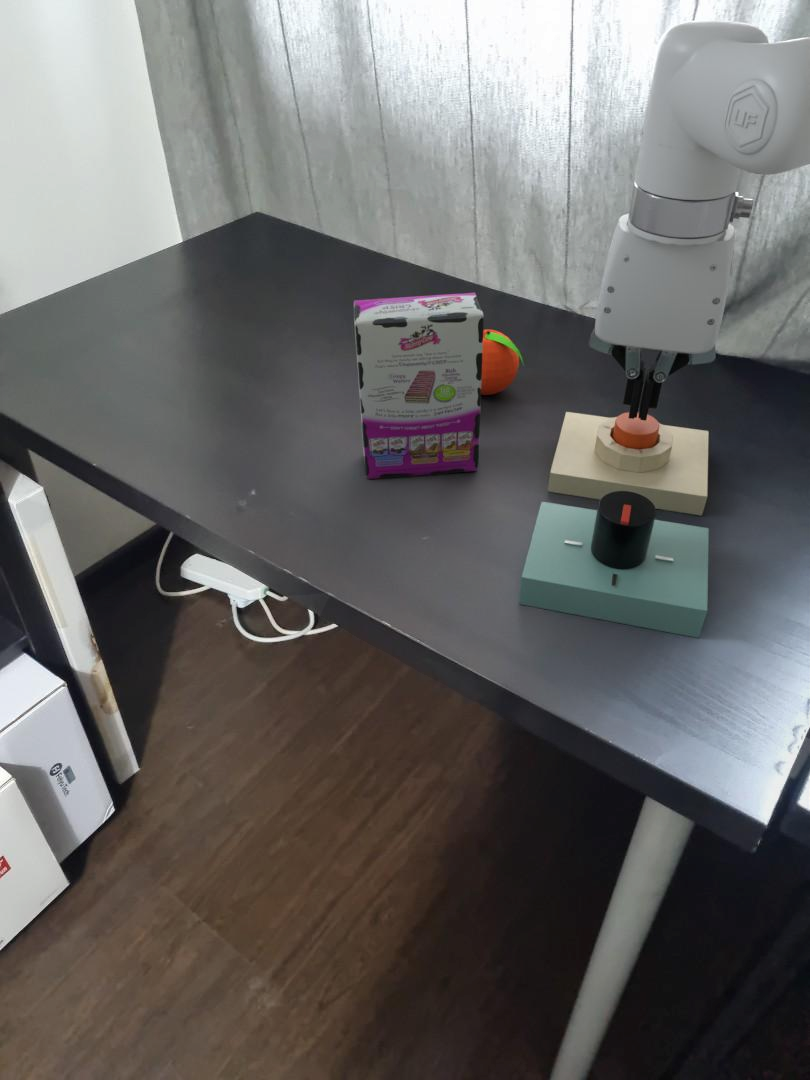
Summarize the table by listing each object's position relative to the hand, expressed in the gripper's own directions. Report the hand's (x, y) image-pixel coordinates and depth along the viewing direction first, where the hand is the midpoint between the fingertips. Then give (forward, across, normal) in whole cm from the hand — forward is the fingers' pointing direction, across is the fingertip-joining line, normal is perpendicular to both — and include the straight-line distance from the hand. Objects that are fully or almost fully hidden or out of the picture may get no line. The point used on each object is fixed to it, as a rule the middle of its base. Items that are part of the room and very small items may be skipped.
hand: (638, 411), depth 76 cm
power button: (+3, 0, 0) cm, 3 cm away
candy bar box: (+7, +20, +4) cm, 21 cm away
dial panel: (+6, 0, +16) cm, 17 cm away
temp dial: (+3, 0, +16) cm, 16 cm away
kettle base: (+6, 0, 0) cm, 7 cm away
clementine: (+7, +16, -11) cm, 20 cm away
